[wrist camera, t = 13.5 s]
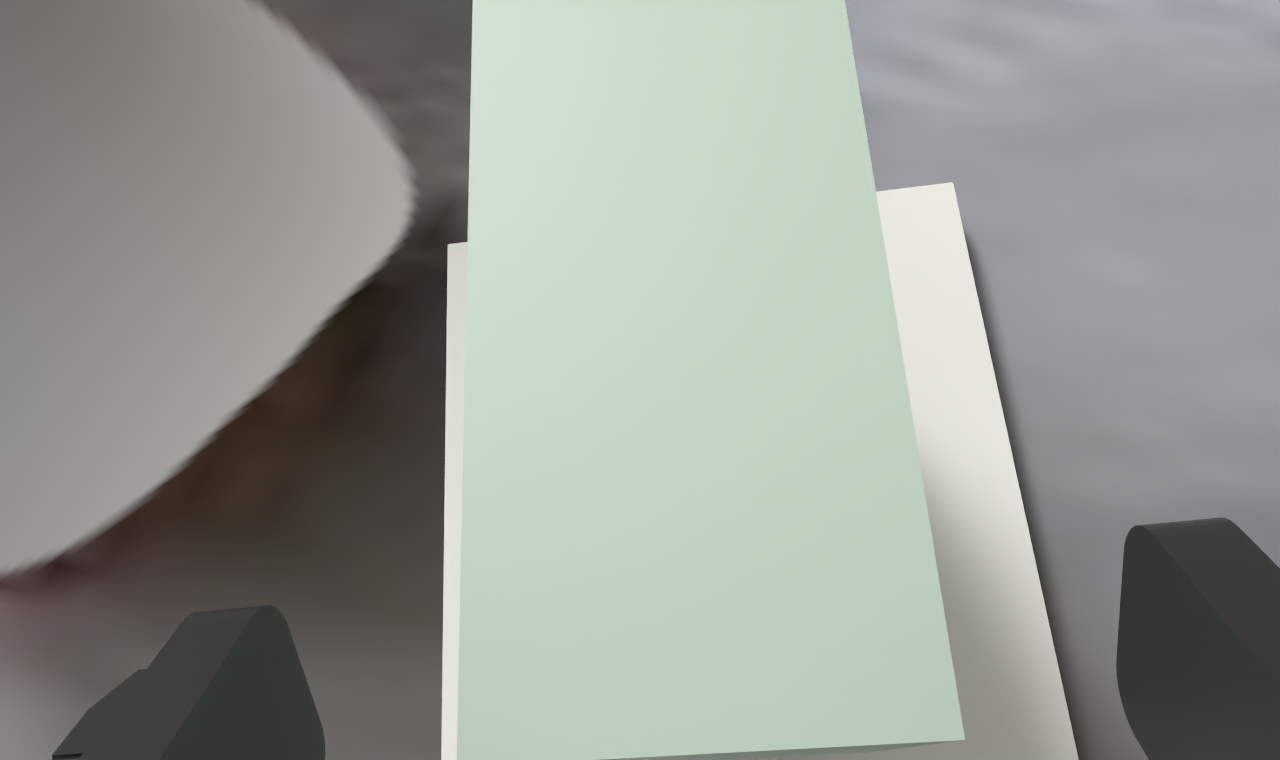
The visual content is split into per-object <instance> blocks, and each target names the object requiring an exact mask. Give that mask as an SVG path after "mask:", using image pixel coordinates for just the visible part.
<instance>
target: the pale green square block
mask: <svg viewBox="0 0 1280 760" xmlns="http://www.w3.org/2000/svg"><path fill="white" fill-rule="evenodd" d="M962 740H965V736H964V730H963V724H962V717H961V711H960V705H959V699H958V693H957V687H956V681H955V674H954V668H953V662H952V656H951V650H950V644H949V638H948V631H947V625H946V619H945V613H944V607H943V601H942V595H941V588H940V582H939V576H938V570H937V564H936V558H935V552H934V546H933V539H932V533H931V527H930V521H929V515H928V509H927V503H926V496H925V490H924V484H923V478H922V472H921V466H920V460H919V453H918V447H917V441H916V435H915V429H914V423H913V417H912V411H911V404H910V398H909V392H908V386H907V380H906V374H905V368H904V361H903V355H902V349H901V343H900V337H899V331H898V325H897V318H896V312H895V306H894V300H893V294H892V288H891V282H890V275H889V269H888V263H887V257H886V251H885V245H884V239H883V233H882V226H881V220H880V214H879V208H878V202H877V196H876V190H875V183H874V177H873V171H872V165H871V159H870V153H869V147H868V140H867V134H866V128H865V122H864V116H863V110H862V104H861V98H860V91H859V85H858V79H857V73H856V67H855V61H854V55H853V48H852V42H851V36H850V30H849V24H848V18H847V12H846V5H845V0H473V9H472V56H471V104H470V151H469V198H468V245H467V293H466V340H465V387H464V435H463V482H462V529H461V576H460V624H459V671H458V718H457V760H735V759H754V758H773V757H792V756H811V755H830V754H849V753H868V752H877V751H884V750H892V749H900V748H908V747H916V746H923V745H931V744H939V743H947V742H954V741H962Z"/></svg>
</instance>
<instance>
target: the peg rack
mask: <svg viewBox="0 0 1280 760" xmlns="http://www.w3.org/2000/svg"><path fill="white" fill-rule="evenodd" d="M876 196H877V202H878V208H879V214H880V220H881V226H882V233H883V239H884V245H885V251H886V257H887V263H888V269H889V275H890V282H891V288H892V294H893V300H894V306H895V312H896V318H897V325H898V331H899V337H900V343H901V349H902V355H903V361H904V368H905V374H906V380H907V386H908V392H909V398H910V404H911V411H912V417H913V423H914V429H915V435H916V441H917V447H918V453H919V460H920V466H921V472H922V478H923V484H924V490H925V496H926V503H927V509H928V515H929V521H930V527H931V533H932V539H933V546H934V552H935V558H936V564H937V570H938V576H939V582H940V588H941V595H942V601H943V607H944V613H945V619H946V625H947V631H948V638H949V644H950V650H951V656H952V662H953V668H954V674H955V681H956V687H957V693H958V699H959V705H960V711H961V717H962V724H963V730H964V736H965V740H962V741H954V742H947V743H939V744H931V745H923V746H916V747H908V748H900V749H892V750H884V751H877V752H868V753H849V754H830V755H811V756H792V757H773V758H754V759H735V760H1079V759H1078V754H1077V750H1076V745H1075V740H1074V736H1073V731H1072V727H1071V722H1070V717H1069V713H1068V708H1067V704H1066V699H1065V695H1064V690H1063V685H1062V681H1061V676H1060V672H1059V667H1058V662H1057V658H1056V653H1055V649H1054V644H1053V639H1052V635H1051V630H1050V626H1049V621H1048V617H1047V612H1046V607H1045V603H1044V598H1043V594H1042V589H1041V584H1040V580H1039V575H1038V571H1037V566H1036V561H1035V557H1034V552H1033V548H1032V543H1031V539H1030V534H1029V529H1028V525H1027V520H1026V516H1025V511H1024V506H1023V502H1022V497H1021V493H1020V488H1019V484H1018V479H1017V474H1016V470H1015V465H1014V461H1013V456H1012V451H1011V447H1010V442H1009V438H1008V433H1007V428H1006V424H1005V419H1004V415H1003V410H1002V406H1001V401H1000V396H999V392H998V387H997V383H996V378H995V373H994V369H993V364H992V360H991V355H990V350H989V346H988V341H987V337H986V332H985V328H984V323H983V318H982V314H981V309H980V305H979V300H978V295H977V291H976V286H975V282H974V277H973V273H972V268H971V263H970V259H969V254H968V250H967V245H966V240H965V236H964V231H963V227H962V222H961V217H960V213H959V208H958V204H957V199H956V195H955V190H954V185H953V182H952V183H944V184H936V185H927V186H919V187H911V188H903V189H895V190H887V191H879V192H876ZM467 245H468V242H463V243H455V244H448V269H447V350H446V430H445V511H444V592H443V673H442V754H441V760H457V718H458V671H459V624H460V576H461V529H462V482H463V435H464V387H465V340H466V293H467Z"/></svg>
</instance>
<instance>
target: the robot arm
mask: <svg viewBox="0 0 1280 760" xmlns="http://www.w3.org/2000/svg"><path fill="white" fill-rule="evenodd" d="M1116 667H1117V680H1118V686H1119V692H1120V696H1121V701H1122V704H1123V708H1124V711H1125V714H1126V717H1127V719H1128V722H1129V724H1130V727H1131V729H1132V731H1133V733H1134V735H1135V737H1136V739H1137V740H1138V742H1139V744H1140V745H1141V747H1142V749H1143V750H1144V752H1145V754H1146V755H1147V757H1148V759H1149V760H1280V568H1279V567H1278V566H1277V565H1276V564H1275V563H1274V562H1273V561H1272V560H1271V559H1270V558H1269V557H1268V556H1267V555H1266V554H1265V553H1264V552H1263V551H1262V550H1261V549H1260V548H1259V547H1258V546H1257V545H1256V544H1255V543H1254V542H1253V541H1252V540H1251V539H1250V538H1249V537H1248V536H1247V535H1246V534H1245V533H1244V532H1243V531H1242V530H1241V529H1240V528H1239V527H1238V526H1237V525H1236V524H1234V523H1233V522H1232V521H1230V520H1228V519H1226V518H1212V519H1202V520H1191V521H1181V522H1170V523H1159V524H1149V525H1139V526H1134V527H1133V528H1131V530H1130V531H1129V533H1128V535H1127V537H1126V541H1125V546H1124V557H1123V572H1122V587H1121V601H1120V616H1119V631H1118V646H1117V664H1116ZM52 758H53V759H52V760H325V741H324V734H323V729H322V725H321V722H320V719H319V716H318V713H317V710H316V707H315V704H314V701H313V698H312V695H311V692H310V689H309V686H308V683H307V680H306V677H305V674H304V671H303V668H302V666H301V663H300V660H299V657H298V654H297V651H296V648H295V645H294V642H293V639H292V636H291V633H290V630H289V627H288V625H287V622H286V620H285V618H284V616H283V615H282V613H281V612H280V611H279V610H278V609H277V608H275V607H274V606H270V605H267V606H256V607H245V608H235V609H224V610H214V611H203V612H195V613H193V614H191V615H189V616H188V617H186V618H185V619H184V621H183V622H182V623H181V624H180V625H179V627H178V628H177V629H176V631H175V632H174V633H173V635H172V636H171V637H170V639H169V640H168V641H167V643H166V644H165V645H164V647H163V648H162V649H161V651H160V652H159V653H158V655H157V656H156V657H155V659H154V660H153V661H152V663H151V664H150V665H149V667H148V668H147V669H143V670H138V671H137V672H135V673H134V674H133V675H132V676H130V677H129V678H128V679H127V680H125V681H124V682H123V683H121V684H120V685H119V686H118V687H116V688H115V689H114V690H113V691H111V692H110V693H109V694H108V695H106V696H105V697H104V698H102V699H101V700H100V701H99V702H97V703H96V704H95V705H94V706H92V707H91V708H90V709H89V710H88V711H87V712H86V713H85V714H84V716H83V717H82V718H81V719H80V721H79V722H78V723H77V724H76V726H75V727H74V728H73V730H72V731H71V732H70V733H69V735H68V736H67V737H66V738H65V740H64V741H63V742H62V743H61V745H60V746H59V747H58V748H57V750H56V751H55V752H54V754H53V755H52Z"/></svg>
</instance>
